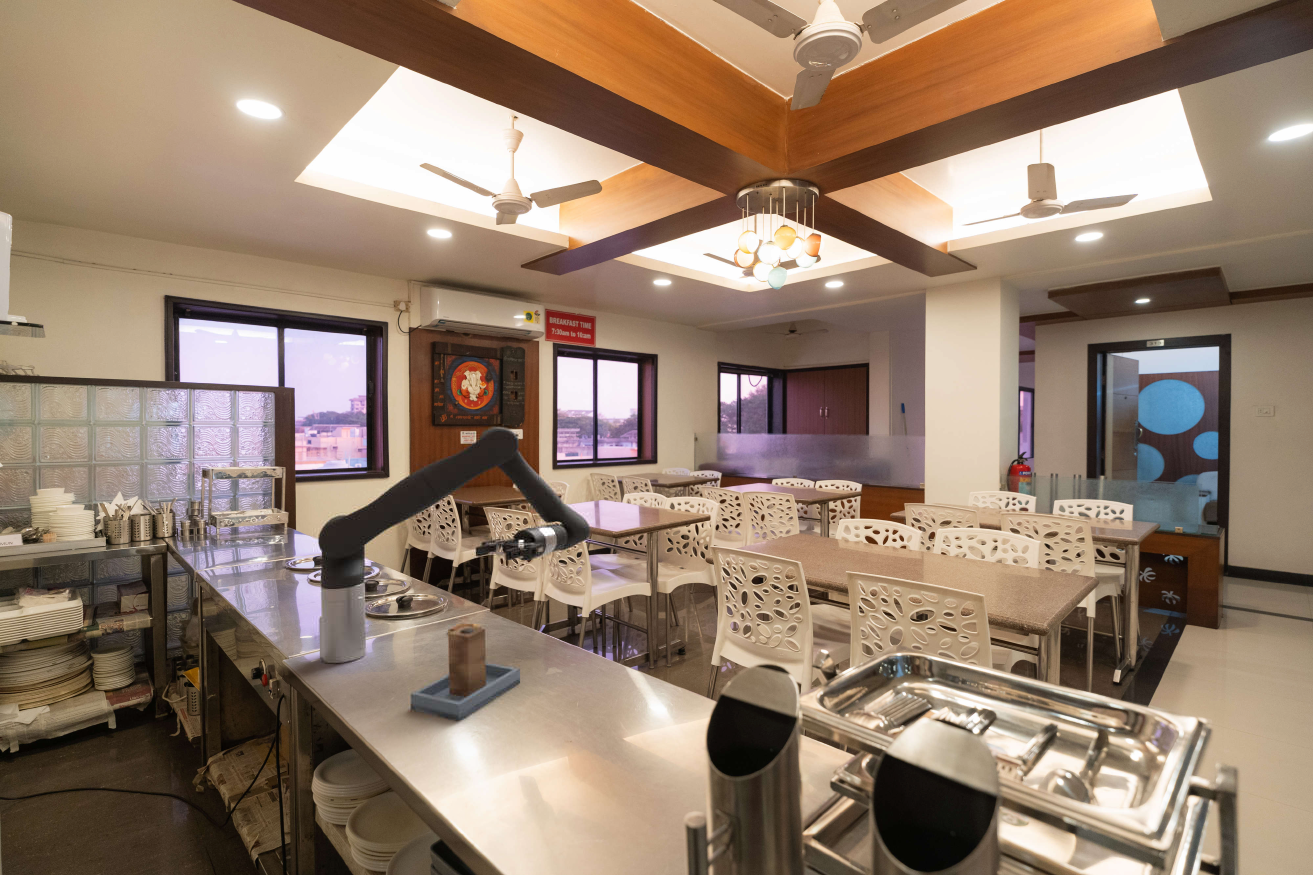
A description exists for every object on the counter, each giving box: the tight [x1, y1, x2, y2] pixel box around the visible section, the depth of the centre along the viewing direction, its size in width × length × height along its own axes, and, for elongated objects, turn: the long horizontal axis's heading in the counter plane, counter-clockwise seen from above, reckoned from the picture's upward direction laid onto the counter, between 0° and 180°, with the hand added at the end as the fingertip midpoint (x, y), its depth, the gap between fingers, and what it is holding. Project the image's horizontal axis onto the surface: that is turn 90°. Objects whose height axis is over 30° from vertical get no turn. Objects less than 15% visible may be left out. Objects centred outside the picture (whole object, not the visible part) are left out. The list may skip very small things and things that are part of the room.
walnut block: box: [447, 626, 487, 697], centre depth 122 cm, size 5×5×12 cm
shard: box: [447, 622, 482, 634], centre depth 158 cm, size 11×8×2 cm
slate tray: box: [410, 662, 521, 722], centre depth 122 cm, size 12×18×3 cm, turn 156°
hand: (491, 553), depth 137 cm, fingers open, 8 cm apart
